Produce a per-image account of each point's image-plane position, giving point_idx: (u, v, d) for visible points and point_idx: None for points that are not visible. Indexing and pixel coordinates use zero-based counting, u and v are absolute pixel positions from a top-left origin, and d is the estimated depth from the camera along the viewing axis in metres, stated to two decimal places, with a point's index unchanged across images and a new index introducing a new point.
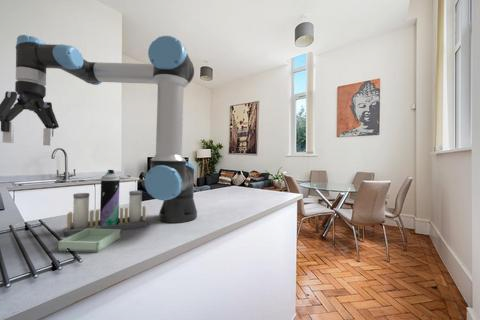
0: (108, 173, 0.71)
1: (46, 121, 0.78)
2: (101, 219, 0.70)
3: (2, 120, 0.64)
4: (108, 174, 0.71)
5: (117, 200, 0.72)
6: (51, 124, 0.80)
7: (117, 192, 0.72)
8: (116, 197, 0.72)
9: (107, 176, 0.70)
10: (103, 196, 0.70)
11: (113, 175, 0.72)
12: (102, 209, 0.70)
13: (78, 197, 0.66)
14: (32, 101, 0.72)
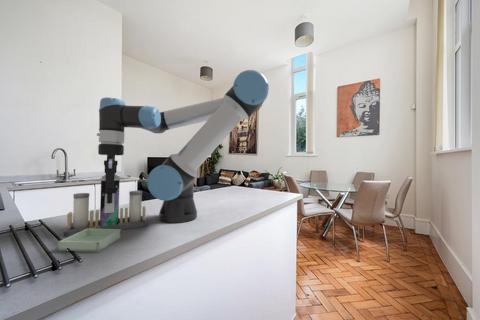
0: None
1: None
2: (101, 219, 0.70)
3: (110, 193, 0.68)
4: None
5: (117, 200, 0.72)
6: None
7: (117, 192, 0.72)
8: (116, 197, 0.72)
9: None
10: (103, 196, 0.70)
11: None
12: (102, 209, 0.70)
13: (78, 197, 0.66)
14: (117, 162, 0.72)
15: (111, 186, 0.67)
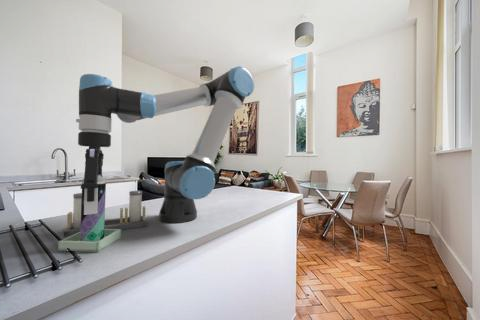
0: None
1: None
2: (81, 232, 0.56)
3: (91, 188, 0.51)
4: None
5: (102, 208, 0.58)
6: (101, 176, 0.65)
7: (102, 198, 0.58)
8: (101, 204, 0.58)
9: None
10: None
11: None
12: (83, 220, 0.56)
13: (78, 197, 0.66)
14: (102, 156, 0.58)
15: (92, 178, 0.51)
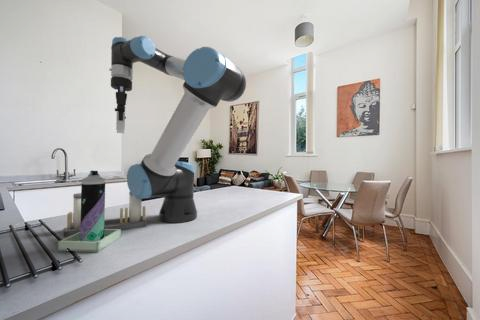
0: (90, 175, 0.57)
1: (122, 112, 0.89)
2: (81, 232, 0.56)
3: (121, 111, 0.77)
4: (90, 176, 0.57)
5: (102, 208, 0.58)
6: None
7: (102, 198, 0.58)
8: (101, 204, 0.58)
9: (89, 179, 0.56)
10: (84, 203, 0.56)
11: (96, 177, 0.58)
12: (82, 220, 0.56)
13: (78, 197, 0.66)
14: (126, 95, 0.84)
15: (122, 103, 0.76)
